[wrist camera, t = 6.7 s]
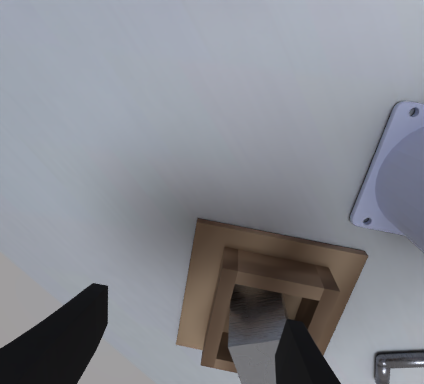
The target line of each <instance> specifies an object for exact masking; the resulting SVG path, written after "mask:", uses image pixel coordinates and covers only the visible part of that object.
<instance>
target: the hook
mask: <svg viewBox="0 0 424 384" xmlns="http://www.w3.org/2000/svg"><path fill="white" fill-rule="evenodd" d="M414 367H424V352H417V353H394V354H379V355H377V357H376V374H375V381H376V384H389V380H390V368H414Z"/></svg>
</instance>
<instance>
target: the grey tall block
mask: <svg viewBox="0 0 424 384" xmlns="http://www.w3.org/2000/svg"><path fill="white" fill-rule="evenodd" d="M287 319H289V317H288V313H287V309H286V306H285V302H284V298H283V294H282V293H278V292H273V291H268V290H263V289H258V288H253V287H249V286H244V285H239V284H235V285H234V289H233V293H232V297H231V301H230V314H229V335H228V349H229V351H230V354H231V357H232V359H233V362H234V365H235V367H236V370H237V373H238V375H239V378H240V381H241V383H242V384H276V373H275V353H276V350H277V347H278V344H279V341H280V338H281V335H282V332H283V329H284V326H285V323H286V320H287Z"/></svg>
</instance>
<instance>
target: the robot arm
mask: <svg viewBox="0 0 424 384" xmlns="http://www.w3.org/2000/svg"><path fill="white" fill-rule="evenodd" d="M412 108H415V113H414V114H413V115H412V116H410V115H409V111H410V110H411V109H412ZM365 218H369V220H368V221H367V222H363V220H364V219H365ZM350 221H351V222H352V223H353V224H354V225H355V226H358V227H364V228H369V229H374V230H379V231H384V232H389V233H394V234H399V235H405V236H406V237H407V238H408V239H409V240H411V241H412V242H413V243H414V244H415V245H416V246H417V247H418V248H419V249H420V250H421V251H422V252H423V253H424V104H420V103H415V102H410V101H401V102H398V103H397V104H396V105H395V106H394V108H393V110H392V113H391V115H390V118H389V120H388V123H387V125H386V128H385V130H384V133H383V135H382V138H381V140H380V143H379V145H378V148H377V150H376V153H375V155H374V158H373V160H372V163H371V166H370V168H369V171H368V173H367V176H366V178H365V181H364V183H363V186H362V188H361V191H360V193H359V196H358V198H357V201H356V203H355V206H354V208H353V211H352V213H351V216H350ZM107 324H108V286H106V285H100V284H95V283H93V284H91V285H90V286H88V287H87V288H86V289H84V290H83V291H82V292H81V293H79V294H78V295H77V296H75V297H74V298H73V299H71V300H70V301H69V302H67V303H66V304H65V305H63V306H62V307H61V308H59V309H58V310H57V311H55V312H54V313H53V314H51V315H50V316H49V317H47V318H46V319H45V320H43V321H42V322H40V323H39V324H37V325H36V326H34V327H33V328H31V329H30V330H29V331H27V332H25V333H24V334H22V335H21V336H19V337H18V338H16V339H15V340H13V341H12V342H10V343H9V344H7V345H5V346H4V347H2V348H0V384H77V383H78V381H79V379H80V377H81V376H82V374H83V372H84V371H85V369H86V367H87V365H88V364H89V362H90V360H91V358H92V356H93V355H94V353H95V351H96V349H97V347H98V345H99V343H100V340H101V338H102V336H103V333H104V331H105V329H106V326H107ZM275 373H276V384H341V383H340V382H339V380H338V379H337V377H336V375H335V374H334V372H333V371H332V369H331V368H330V366H329V365H328V363H327V362H326V360H325V358H324V357H323V355H322V353H321V352H320V350H319V349H318V347H317V345H316V344H315V342H314V340H313V339H312V337H311V335H310V333H309V332H308V330H307V328H306V327H305V325H304V324H303V322H301V321H296V320H290V319H287V320H286V323H285V326H284V329H283V332H282V335H281V338H280V341H279V344H278V347H277V350H276V353H275Z"/></svg>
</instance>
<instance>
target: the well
mask: <svg viewBox="0 0 424 384" xmlns="http://www.w3.org/2000/svg"><path fill="white" fill-rule="evenodd" d="M367 258H368V255H367V254H366V252H365V251H361V250H356V249H351V248H346V247H341V246H336V245H331V244H326V243H321V242H316V241H311V240H305V239H300V238H295V237H290V236H285V235H280V234H275V233H270V232H265V231H260V230H255V229H250V228H245V227H240V226H235V225H229V224H224V223H219V222H214V221H209V220H204V219H199V218H198V220H197V223H196V229H195V235H194V241H193V247H192V253H191V259H190V265H189V271H188V277H187V283H186V288H185V294H184V300H183V306H182V312H181V318H180V324H179V330H178V336H177V342H176V345H181V346H186V347H190V348H195V349H200V350H203V352H202V359H201V365H202V366H207V367H211V368H216V369H221V370H225V371H230V372H235V373H237V370H236V367H235V365H234V362H233V359H232V357H231V354H230V351H229V349H228V335H229V314H230V301H231V297H232V293H233V289H234V285H235V284H239V285H244V286H249V287H253V288H258V289H263V290H268V291H273V292H278V293H282V294H283V298H284V302H285V306H286V309H287V313H288V317H289V319H290V320H296V321H301V322H303V324H304V325H305V327H306V328H307V330H308V332H309V333H310V335H311V337H312V339H313V340H314V342H315V344H316V345H317V347H318V349H319V350H320V352H321V353H322V355H324V353H325V350H326V348H327V346H328V344H329V342H330V339H331V337H332V335H333V333H334V331H335V328H336V326H337V324H338V322H339V320H340V317H341V315H342V313H343V311H344V309H345V306H346V304H347V302H348V300H349V298H350V295H351V293H352V291H353V289H354V287H355V284H356V282H357V280H358V278H359V276H360V273H361V271H362V269H363V267H364V264H365V262H366V260H367Z"/></svg>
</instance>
